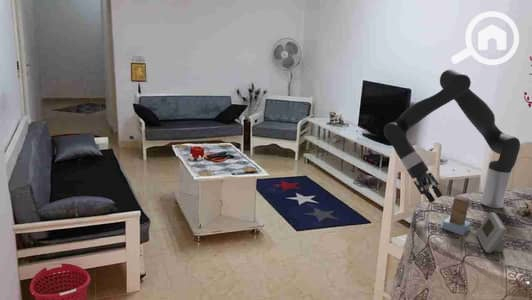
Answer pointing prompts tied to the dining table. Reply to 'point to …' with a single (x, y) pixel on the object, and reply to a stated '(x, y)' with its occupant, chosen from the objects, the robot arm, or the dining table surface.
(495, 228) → the digital clock
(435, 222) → the dining table surface
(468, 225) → the pedestal
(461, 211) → the walnut pillar
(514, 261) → the dining table surface
